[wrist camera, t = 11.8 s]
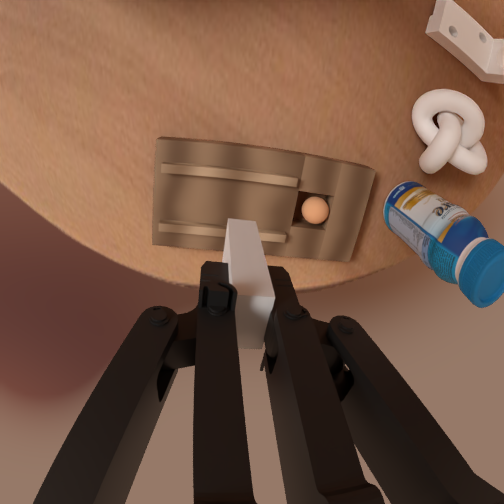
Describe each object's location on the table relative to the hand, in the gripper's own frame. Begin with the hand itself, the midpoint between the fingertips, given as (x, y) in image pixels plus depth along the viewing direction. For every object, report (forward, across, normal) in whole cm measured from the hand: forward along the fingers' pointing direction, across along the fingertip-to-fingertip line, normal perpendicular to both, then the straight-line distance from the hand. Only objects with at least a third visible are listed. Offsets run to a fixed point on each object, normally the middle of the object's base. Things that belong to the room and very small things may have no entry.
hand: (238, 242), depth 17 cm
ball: (+19, +11, -4) cm, 22 cm away
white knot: (+21, +28, +10) cm, 36 cm away
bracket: (+22, +30, +26) cm, 45 cm away
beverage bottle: (+21, +26, -2) cm, 33 cm away
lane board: (+21, +5, -4) cm, 22 cm away
